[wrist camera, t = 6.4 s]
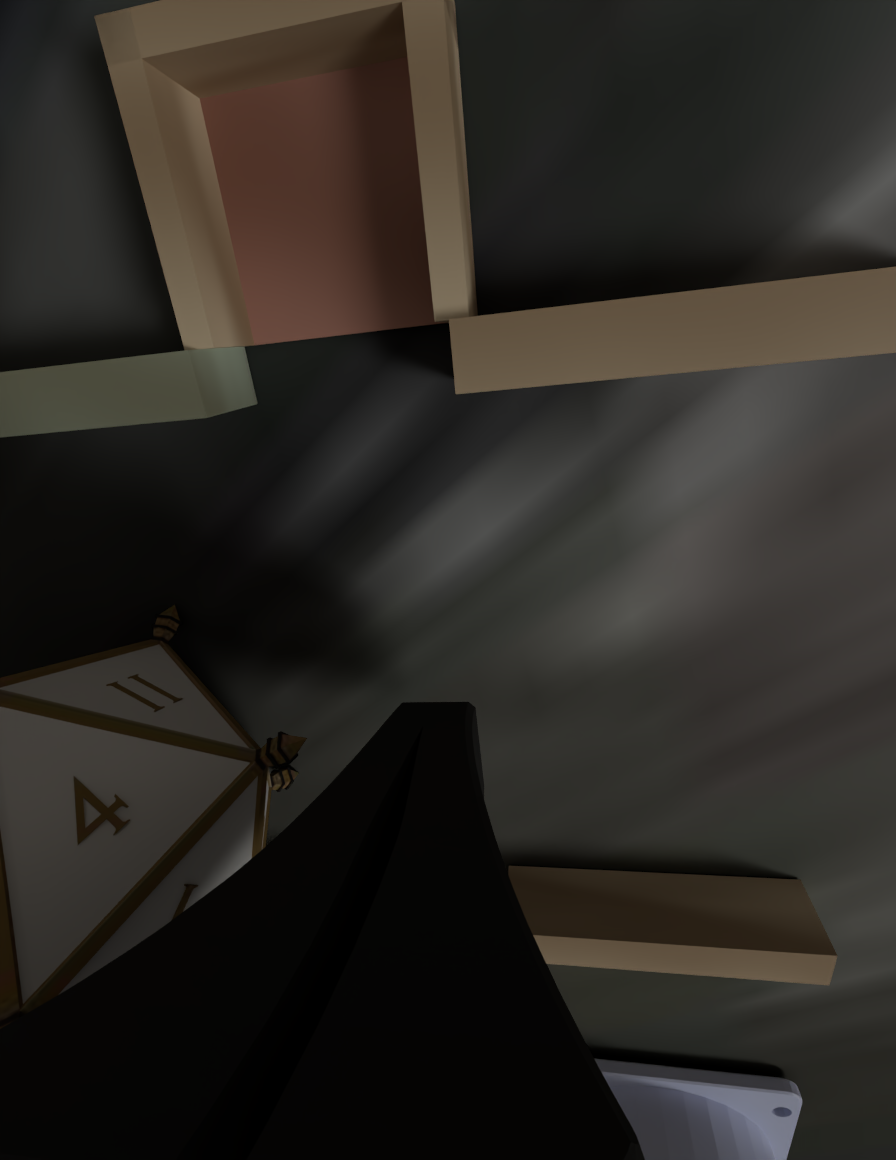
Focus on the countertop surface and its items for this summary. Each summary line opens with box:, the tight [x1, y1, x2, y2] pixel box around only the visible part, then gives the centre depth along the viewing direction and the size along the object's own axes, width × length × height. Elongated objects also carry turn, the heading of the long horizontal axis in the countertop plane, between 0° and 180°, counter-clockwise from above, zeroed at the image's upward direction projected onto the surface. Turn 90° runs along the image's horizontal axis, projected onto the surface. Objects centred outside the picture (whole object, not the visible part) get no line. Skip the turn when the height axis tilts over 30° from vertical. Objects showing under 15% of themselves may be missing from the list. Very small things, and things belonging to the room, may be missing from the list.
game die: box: [0, 605, 307, 1029], centre depth 10 cm, size 9×8×10 cm
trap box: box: [0, 0, 896, 985], centre depth 11 cm, size 22×22×3 cm
